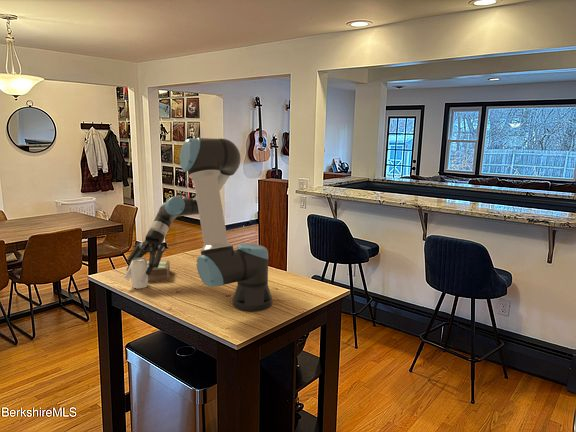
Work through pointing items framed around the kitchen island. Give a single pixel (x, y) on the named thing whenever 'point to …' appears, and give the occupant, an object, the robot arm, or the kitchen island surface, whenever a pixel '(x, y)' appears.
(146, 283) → the can
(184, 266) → the kitchen island surface
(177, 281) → the kitchen island surface
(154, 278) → the plinth
